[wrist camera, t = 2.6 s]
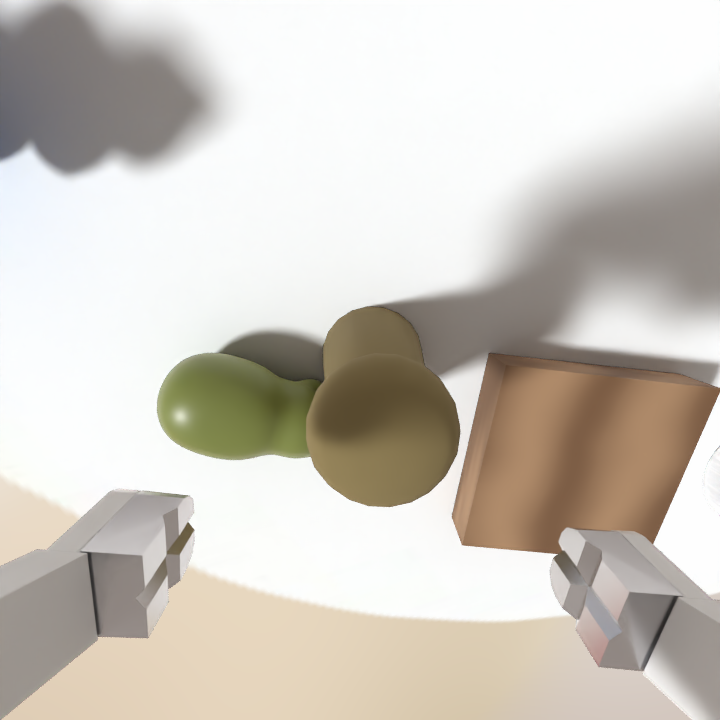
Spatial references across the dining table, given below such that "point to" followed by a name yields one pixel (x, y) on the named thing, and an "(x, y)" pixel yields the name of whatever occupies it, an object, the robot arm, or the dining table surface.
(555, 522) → the walnut block
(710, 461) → the ramekin
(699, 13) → the dining table surface
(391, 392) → the pepper mill
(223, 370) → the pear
